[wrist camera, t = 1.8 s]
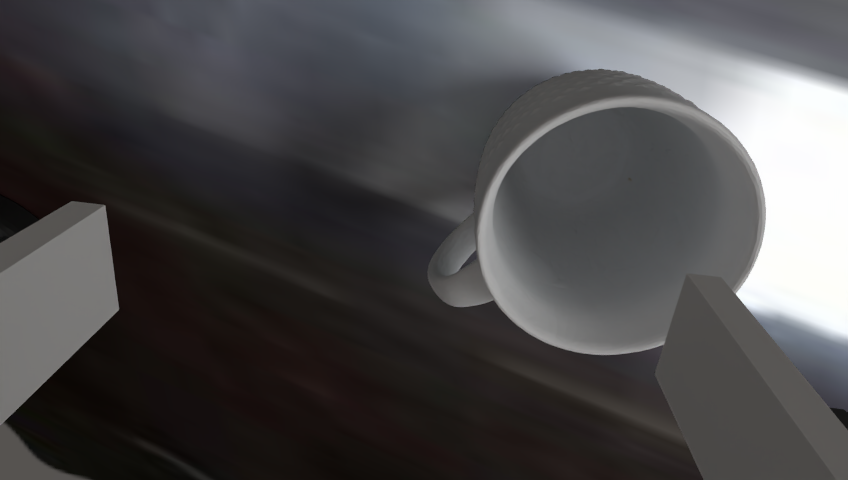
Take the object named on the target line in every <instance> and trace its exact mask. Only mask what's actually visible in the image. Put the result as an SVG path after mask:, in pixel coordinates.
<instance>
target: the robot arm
mask: <svg viewBox="0 0 848 480" xmlns="http://www.w3.org/2000/svg"><path fill="white" fill-rule="evenodd" d="M118 310H119V305H118V298H117V290H116V283H115V276H114V268H113V261H112V253H111V246H110V238H109V231H108V223H107V216H106V208H105V205H100V204H91V203H82V202H74V201H71V202H70V203H68V204H66V205H65V206H63V207H61V208H59V209H58V210H56V211H54V212H53V213H51V214H49V215H47V216H46V217H44V218H42V219H41V220H39V219H37V218H36V217H35V216H34V215H32V214H31V213H30V212H28V211H27V210H25V209H24V208H23V207H21V206H19V205H18V204H16V203H14V202H13V201H11V200H9V199H7V198H5V197H3V196H1V195H0V425H1V424H2V423H3V422H4V421H5V420H6V419H7V418H8V417H9V416H10V415H11V414H12V413H13V412H15V411H16V410H17V409H18V408H19V407H20V406H21V405H22V404H23V403H24V402H25V401H26V400H27V399H28V398H29V397H30V396H31V395H32V394H33V393H34V392H35V391H36V390H37V389H38V388H39V387H40V386H41V385H42V384H43V383H44V382H45V381H46V380H47V379H48V378H49V377H50V376H51V375H52V374H53V373H55V372H56V371H57V370H58V369H59V368H60V367H61V366H62V365H63V364H64V363H65V362H66V361H67V360H68V359H69V358H70V357H71V356H72V355H73V354H74V353H75V352H76V351H77V350H78V349H79V348H80V347H81V346H82V345H83V344H84V343H85V342H86V341H87V340H88V339H89V338H90V337H91V336H92V335H93V334H95V333H96V332H97V331H98V330H99V329H100V328H101V327H102V326H103V325H104V324H105V323H106V322H107V321H108V320H109V319H110V318H111V317H112V316H113V315H114V314H115V313H116V312H117V311H118ZM655 376H656V378H657V380H658V382H659V385H660V387H661V389H662V391H663V393H664V395H665V397H666V400H667V402H668V404H669V406H670V408H671V410H672V413H673V415H674V417H675V419H676V421H677V423H678V426H679V428H680V430H681V432H682V434H683V436H684V438H685V441H686V443H687V445H688V447H689V449H690V451H691V454H692V456H693V458H694V460H695V462H696V464H697V467H698V469H699V471H700V473H701V475H702V477H703V479H704V480H848V412H846V411H845V410H844V409H836V408H829V407H828V406H827V404H826V403H825V402H824V401H823V400H822V398H821V397H820V396H819V395H818V394H817V392H816V391H815V390H814V389H813V388H812V386H811V385H810V384H809V383H808V381H807V380H806V379H805V378H804V377H803V375H802V374H801V373H800V372H799V371H798V369H797V368H796V367H795V366H794V365H793V363H792V362H791V361H790V360H789V359H788V357H787V356H786V355H785V354H784V352H783V351H782V350H781V349H780V348H779V346H778V345H777V344H776V343H775V342H774V340H773V339H772V338H771V337H770V336H769V334H768V333H767V332H766V331H765V329H764V328H763V327H762V326H761V325H760V323H759V322H758V321H757V320H756V319H755V317H754V316H753V315H752V314H751V313H750V311H749V310H748V309H747V308H746V306H745V305H744V304H743V303H742V302H741V300H740V299H739V298H738V297H737V296H736V294H735V293H734V292H733V291H732V290H731V288H730V287H729V286H728V285H727V284H726V282H725V281H724V280H723V279H722V277H715V276H706V275H698V274H689V273H687V274H686V277H685V280H684V283H683V286H682V290H681V293H680V296H679V299H678V302H677V305H676V308H675V312H674V315H673V318H672V321H671V324H670V327H669V330H668V334H667V337H666V340H665V343H664V346H663V349H662V352H661V356H660V359H659V362H658V365H657V368H656V371H655Z"/></svg>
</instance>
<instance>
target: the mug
mask: <svg viewBox="0 0 848 480" xmlns="http://www.w3.org/2000/svg"><path fill="white" fill-rule="evenodd" d="M474 205H475V206H474V210H473V211H474V212H473V213H472V214H471V215H470V216H469V217H468V218H467V219H466V220H465V221H464V222H463V223H461V224H460V225H459V226H458V227H457V228H456V229H455V230H454V231H453V232H452V233H451V234H450V235H449V236H448V237H447V238H446V239H445V240H444V242H443V243H442V244H441V245H440V247H439V248H438V249H437V251H436V252H435V254H434V255H433V257H432V259H431V261H430V263H429V267H428V280H429V283H430V285H431V287H432V289H433V290H434V292H435V293H436V295H437V296H438V297H439V298H440V299H441V300H442V301H444V302H445V303H447V304H449V305H452V306H455V307H468V306H475V305H480V304H484V303H487V302H490V301H492V300H494V301H495V302H496V303H497V305H498V306H499V308H500V309H501V310H502V311H503V312H504V313H505V314H506V315H507V316H508V318H509V319H511V320H512V321H513V322H514V323H515V324H516V325H517V326H519V327H520V328H522V329H523V330H524V331H526V332H527V333H529V334H530V335H532V336H534V337H535V338H537V339H539V340H541V341H543V342H545V343H548V344H550V345H553V346H556V347H559V348H562V349H566V350H569V351H574V352H579V353H585V354H594V355H615V354H625V353H632V352H639V351H643V350H647V349H651V348H655V347H658V346H661V345H664V343H665V340H666V337H667V334H668V330H669V327H670V324H671V321H672V318H673V315H674V312H675V308H676V305H677V302H678V299H679V296H680V293H681V290H682V286H683V283H684V280H685V277H686V274H687V273H689V274H698V275H706V276H715V277H722V279H723V280H724V281H725V282H726V284H727V285H728V286H729V287H730V288H731V290H732V291H733V292H734V293H735V294H736V292H737V291H738V290H739V289H740V287H741V286H742V285H743V283H744V282H745V280H746V279H747V277H748V275H749V273H750V272H751V270H752V268H753V266H754V264H755V261H756V259H757V257H758V254H759V251H760V248H761V245H762V240H763V235H764V230H765V220H766V207H765V197H764V192H763V188H762V184H761V180H760V177H759V174H758V172H757V169H756V167H755V164H754V163H753V161H752V159H751V158H750V156H749V154H748V152H747V151H746V150H745V148H744V147H743V145H742V144H741V143H740V141H739V140H738V139H737V138H736V137H735V136H734V135H733V134H732V132H731V131H730V130H729V129H727V128H726V127H725V126H724V125H723V124H722V123H721V122H719V121H718V120H716V119H715V118H713V117H712V116H710V115H709V114H707V113H706V112H704V111H702V110H701V109H699V108H698V107H697V106H696V105H695V104H693V103H692V102H691V101H689V100H685V99H684V98H683V97H682V96H681V95H679V94H677V93H675V92H672V91H671V90H670V89H668V88H666V87H665V86H663V85H659V84H657V83H656V82H654V81H650V80H648V79H644V78H642V77H641V76H638V75H633V74H628V73H625V72H623V71H611V70H604V69H598V70H585V71H573V72H571V73H565V74H562V75H560V76H557V77H552V78H551V79H549V80H547V81H544V82H542V83H541V84H539V85H536V86H534V87H533V88H532V89H531V90H528V91H527V92H526V93H525V94H524V95H522V96H520V97H519V98H518V100H517V101H515V102H514V103H513V104H512V105H511V106H510V108H509V109H507V110H506V111H505V112H504V114H503V116H502V117H501V118H500V119H499V120H498V123H497V125H496V126H495V127H494V128H493V129H492V132H491V135H490V136H489V139H488V140H487V142H486V146H485V147H484V150H483V154H482V156H481V161H480V164H479V170H478V173H477V181H476V184H475V198H474ZM475 250H476V252H477V259H476V260H475V261H473V262H472V263H471V264H469V265H467V266H466V267H464V268H463V269H461V270H459V269H460V268H461V266H462V265H463V264H464V262H465V261H466V260H467V259H468V258H469V256H470V255H471V254H472V253H473V252H474V251H475ZM458 270H459V271H458Z"/></svg>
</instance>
